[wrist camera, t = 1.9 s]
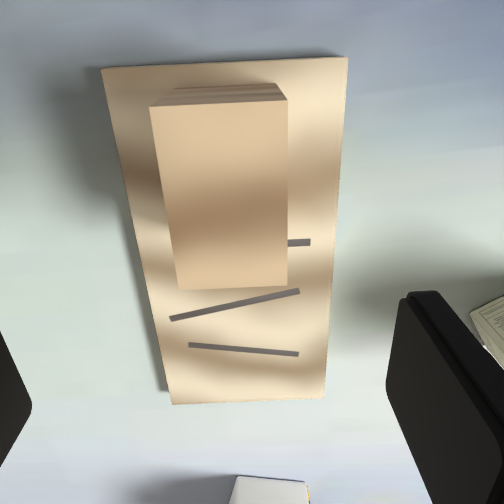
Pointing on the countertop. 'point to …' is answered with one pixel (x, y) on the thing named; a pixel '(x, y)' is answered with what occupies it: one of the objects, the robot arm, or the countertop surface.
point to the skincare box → (491, 327)
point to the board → (299, 238)
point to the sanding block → (225, 183)
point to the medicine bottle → (268, 491)
